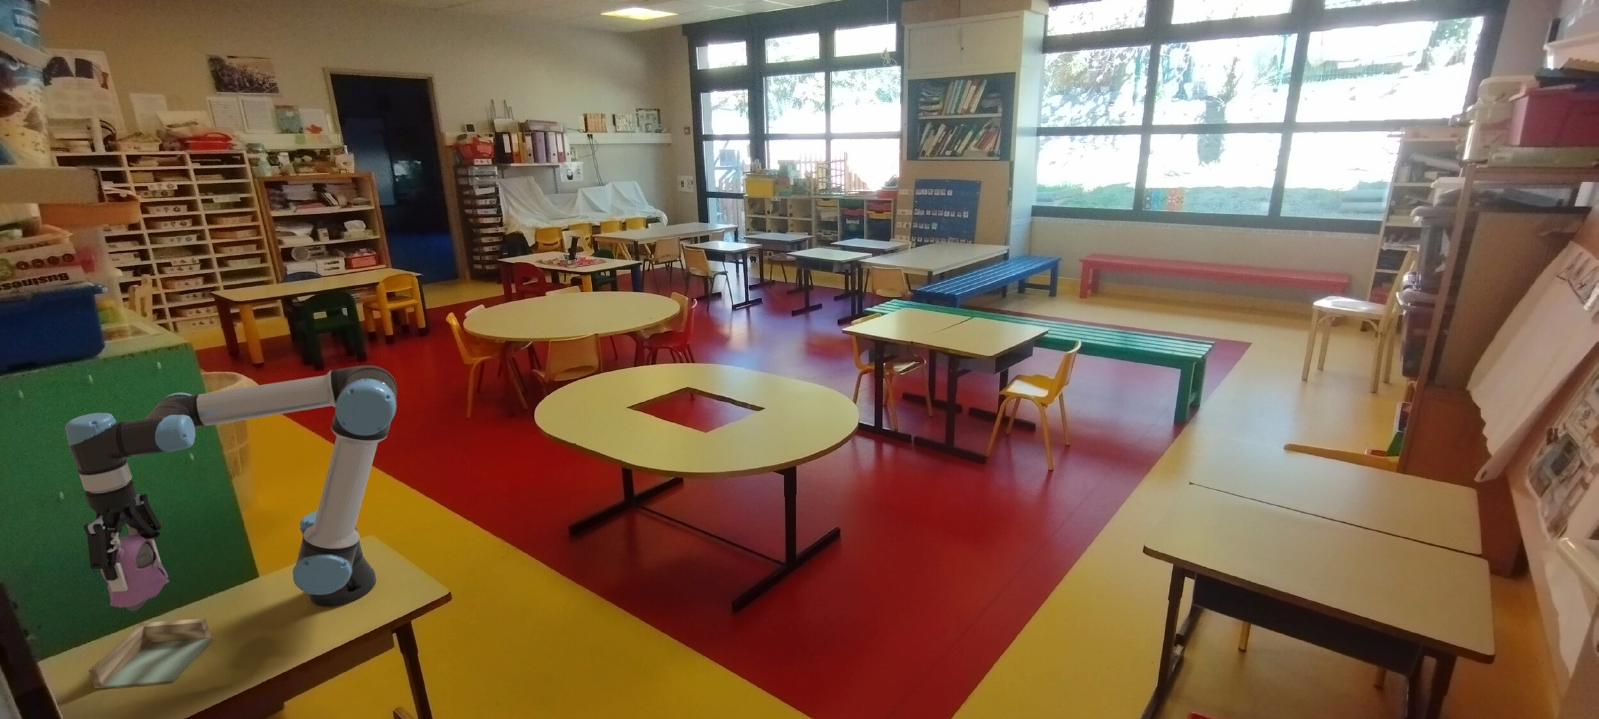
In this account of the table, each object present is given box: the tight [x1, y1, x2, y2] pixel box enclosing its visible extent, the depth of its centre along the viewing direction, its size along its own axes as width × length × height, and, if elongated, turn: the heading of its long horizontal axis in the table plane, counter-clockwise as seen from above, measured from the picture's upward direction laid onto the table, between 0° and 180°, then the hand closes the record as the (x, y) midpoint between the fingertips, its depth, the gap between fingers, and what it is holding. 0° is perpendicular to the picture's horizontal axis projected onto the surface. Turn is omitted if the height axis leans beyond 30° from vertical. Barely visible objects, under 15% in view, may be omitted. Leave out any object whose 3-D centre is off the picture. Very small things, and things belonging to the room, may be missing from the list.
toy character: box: [99, 523, 170, 612], centre depth 159 cm, size 12×10×20 cm
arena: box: [88, 617, 214, 689], centre depth 167 cm, size 16×16×5 cm
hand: (137, 576), depth 159 cm, fingers closed on toy character, 9 cm apart
